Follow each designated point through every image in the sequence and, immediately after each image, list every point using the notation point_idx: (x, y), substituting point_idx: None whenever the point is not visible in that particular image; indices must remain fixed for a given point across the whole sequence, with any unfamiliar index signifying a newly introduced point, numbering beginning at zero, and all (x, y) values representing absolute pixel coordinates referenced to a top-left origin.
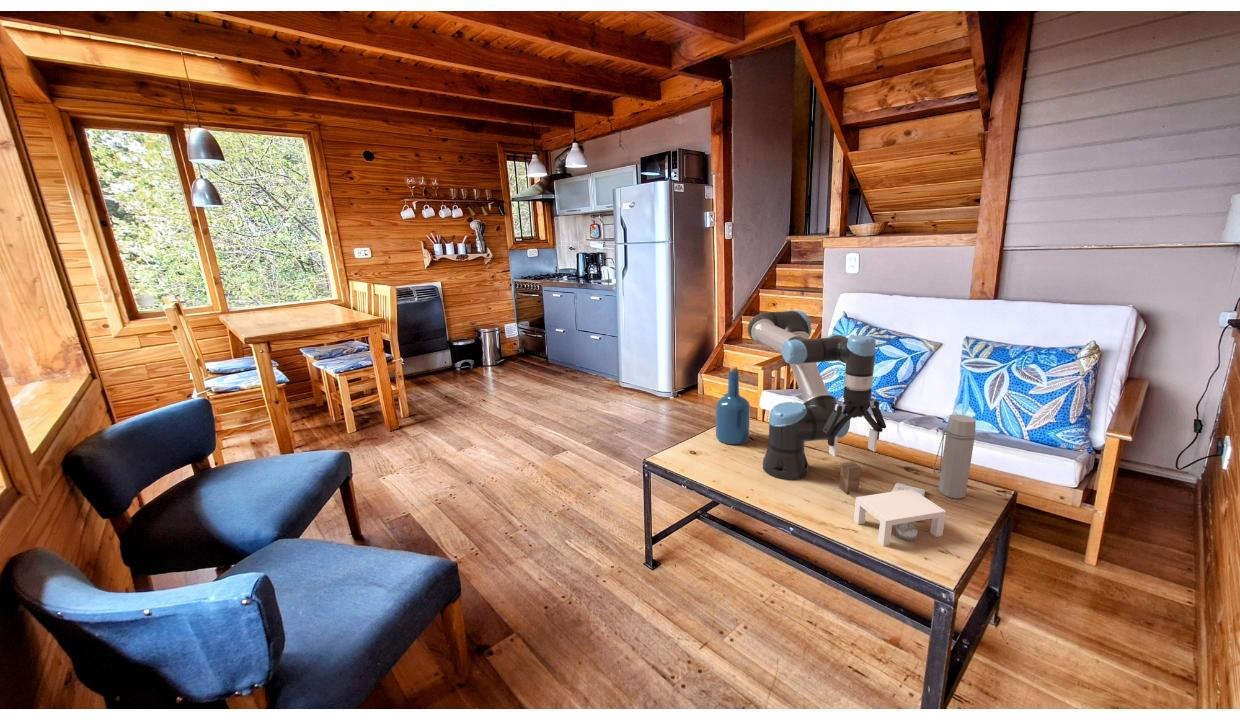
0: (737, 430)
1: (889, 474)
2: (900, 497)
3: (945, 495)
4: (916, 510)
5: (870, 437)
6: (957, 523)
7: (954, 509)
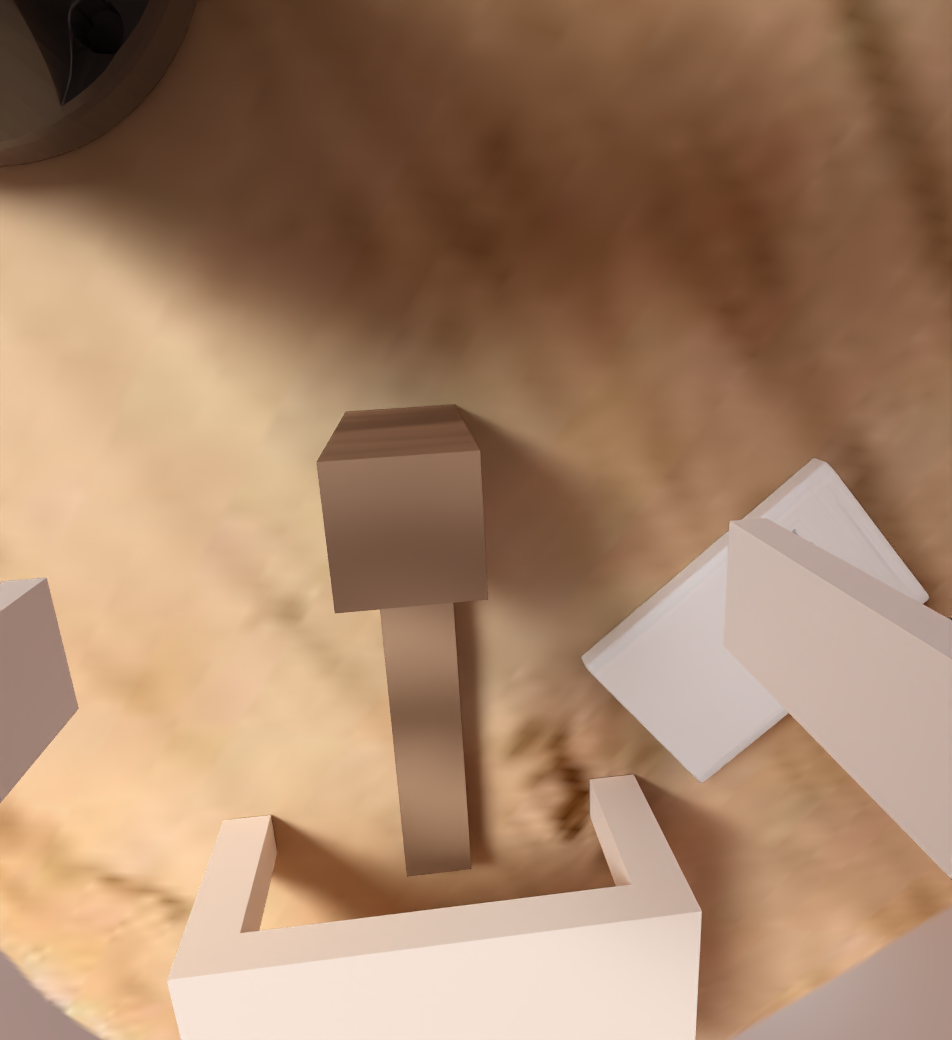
0: None
1: (906, 277)
2: (523, 1004)
3: None
4: None
5: (847, 638)
6: (798, 896)
7: None
